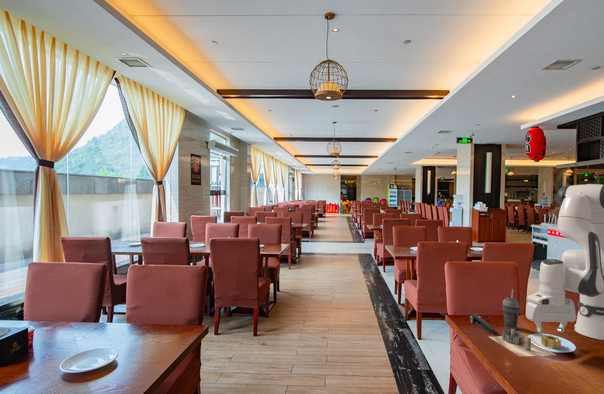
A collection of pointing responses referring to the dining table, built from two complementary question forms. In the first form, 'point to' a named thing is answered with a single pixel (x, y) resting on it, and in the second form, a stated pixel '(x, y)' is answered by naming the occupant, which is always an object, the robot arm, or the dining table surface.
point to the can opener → (481, 323)
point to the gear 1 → (513, 337)
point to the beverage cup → (510, 312)
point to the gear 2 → (551, 341)
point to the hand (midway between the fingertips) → (550, 331)
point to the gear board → (523, 347)
